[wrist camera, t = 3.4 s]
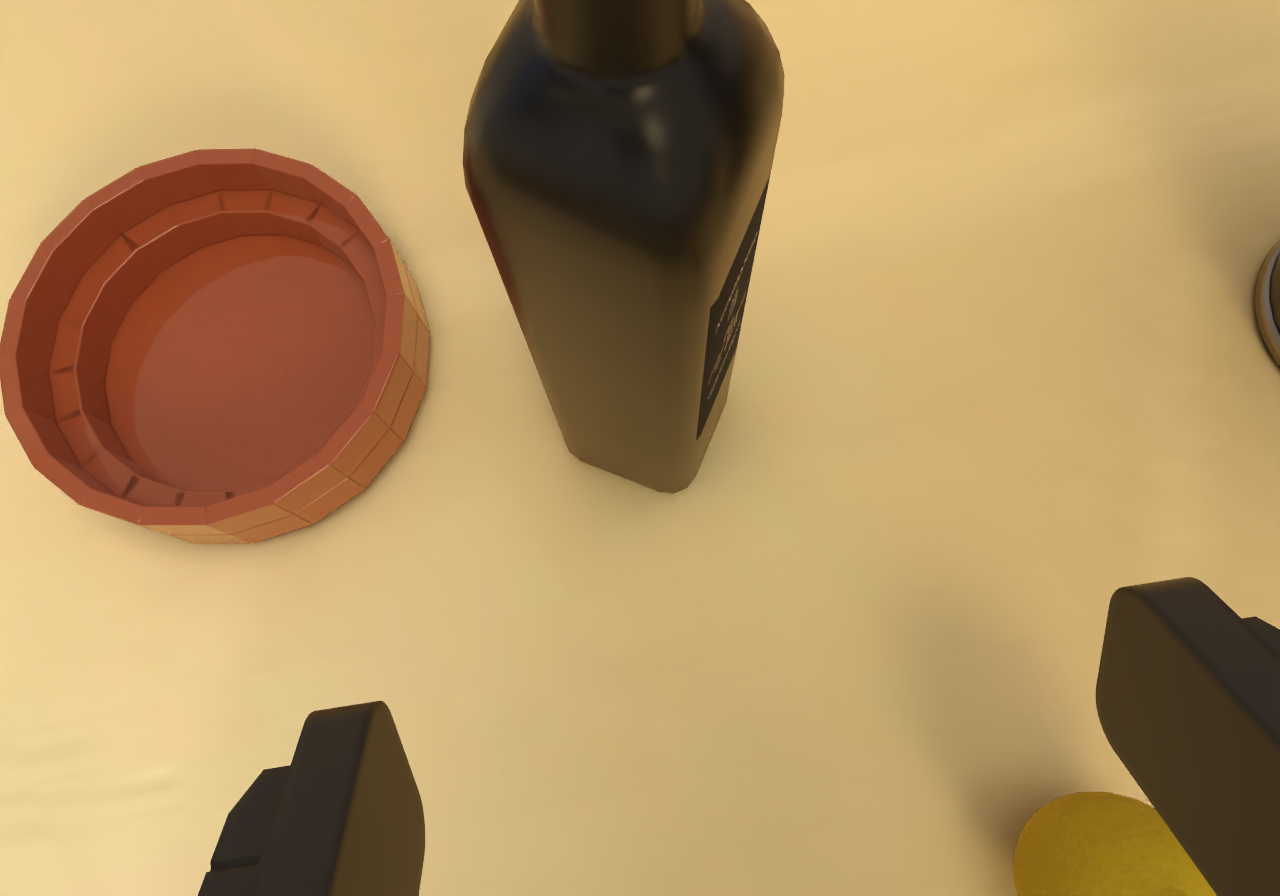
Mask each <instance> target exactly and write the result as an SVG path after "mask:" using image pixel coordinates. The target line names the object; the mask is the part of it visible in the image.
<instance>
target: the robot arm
mask: <svg viewBox="0 0 1280 896" xmlns="http://www.w3.org/2000/svg"><path fill="white" fill-rule="evenodd" d="M1255 308H1256V316H1257V320H1258V325H1259V328H1260V331H1261V334H1262V336H1263V339H1264V341H1265V343H1266V345H1267V347H1268V349H1269V351H1270V353H1271V354H1272V356H1273V357H1274V359H1275V360H1276V362H1277V363H1278V365H1279V366H1280V241H1279V242H1278V243H1277V244H1276V245H1275V247H1274V248H1273V249H1272V250H1271V251H1270V253H1269V254H1268V256H1267V257H1266V259H1265V261H1264V263H1263V265H1262V267H1261V270H1260V272H1259V275H1258V279H1257V283H1256V291H1255ZM1096 705H1097V711H1098V715H1099V719H1100V723H1101V725H1102V728H1103V731H1104V733H1105V735H1106V738H1107V739H1108V741H1109V743H1110V745H1111V747H1112V748H1113V750H1114V751H1115V753H1116V754H1117V755H1118V757H1119V758H1120V760H1121V761H1122V762H1123V764H1124V765H1125V767H1126V768H1127V770H1128V771H1129V772H1130V774H1131V775H1132V777H1133V778H1134V779H1135V781H1136V782H1137V784H1138V785H1139V786H1140V788H1141V789H1142V791H1143V792H1144V793H1145V795H1146V796H1147V798H1148V799H1149V800H1150V802H1151V803H1152V805H1153V806H1154V808H1155V809H1156V810H1157V812H1158V813H1159V815H1160V816H1161V817H1162V819H1163V820H1164V822H1165V823H1166V824H1167V826H1168V827H1169V829H1170V830H1171V831H1172V833H1173V834H1174V836H1175V837H1176V838H1177V840H1178V841H1179V843H1180V844H1181V846H1182V847H1183V848H1184V850H1185V851H1186V853H1187V854H1188V855H1189V857H1190V858H1191V860H1192V861H1193V862H1194V864H1195V865H1196V867H1197V868H1198V869H1199V871H1200V872H1201V874H1202V875H1203V876H1204V878H1205V879H1206V881H1207V882H1208V884H1209V885H1210V886H1211V888H1212V889H1213V891H1214V892H1215V893H1216V895H1217V896H1280V629H1278V628H1276V627H1274V626H1272V625H1270V624H1268V623H1267V622H1265V621H1263V620H1261V619H1259V618H1257V617H1249V618H1243V619H1241V618H1240V617H1239V616H1238V615H1237V614H1236V613H1235V612H1234V611H1233V610H1232V609H1231V608H1230V607H1229V606H1228V605H1227V604H1226V603H1225V602H1223V601H1222V600H1221V599H1220V598H1219V597H1218V596H1217V595H1216V594H1215V593H1214V592H1213V591H1212V590H1211V589H1210V588H1209V587H1208V586H1206V585H1205V584H1204V583H1203V582H1201V581H1199V580H1198V579H1195V578H1191V577H1185V578H1179V579H1172V580H1166V581H1160V582H1153V583H1147V584H1140V585H1134V586H1128V587H1122V588H1119V589H1117V590H1116V591H1115V592H1114V594H1113V595H1112V598H1111V601H1110V605H1109V611H1108V617H1107V623H1106V629H1105V636H1104V642H1103V648H1102V654H1101V660H1100V667H1099V673H1098V679H1097V685H1096ZM424 852H425V823H424V813H423V807H422V802H421V797H420V794H419V791H418V788H417V785H416V782H415V780H414V777H413V774H412V771H411V768H410V766H409V763H408V760H407V757H406V754H405V751H404V749H403V746H402V743H401V740H400V737H399V735H398V732H397V729H396V726H395V723H394V721H393V718H392V715H391V712H390V710H389V708H388V706H387V705H386V704H385V703H384V702H383V701H376V702H370V703H363V704H357V705H351V706H344V707H338V708H331V709H325V710H319V711H314V712H312V713H310V714H309V716H308V717H307V719H306V721H305V723H304V726H303V729H302V732H301V735H300V738H299V741H298V744H297V747H296V750H295V753H294V757H293V760H292V763H291V766H284V767H278V768H272V769H265V770H263V771H262V773H261V774H260V775H259V776H258V778H257V779H256V780H255V781H254V783H253V784H252V785H251V786H250V788H249V789H248V790H247V791H246V793H245V794H244V795H243V796H242V798H241V799H240V800H239V801H238V803H237V804H236V805H235V806H234V808H233V809H232V810H231V811H230V813H229V814H228V817H227V819H226V822H225V825H224V827H223V830H222V833H221V835H220V838H219V841H218V843H217V846H216V848H215V851H214V854H213V856H212V859H211V862H210V863H211V870H210V872H206V875H205V878H204V880H203V883H202V886H201V888H200V891H199V894H198V896H419V889H420V882H421V875H422V868H423V860H424Z"/></svg>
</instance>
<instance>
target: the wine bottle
mask: <svg viewBox="0 0 1280 896" xmlns="http://www.w3.org/2000/svg"><path fill="white" fill-rule="evenodd" d="M783 97H784V71H783V67H782V62H781V58H780V53H779V50H778V48H777V46H776V44H775V42H774V40H773V38H772V36H771V34H770V32H769V30H768V28H767V26H766V24H765V23H764V21H763V20H762V19H761V18H760V16H759V15H758V14H757V13H756V11H755V10H754V9H753V8H752V6H751V5H750V4H749V3H748V2H747V1H745V0H519V2H518V4H517V5H516V7H515V9H514V11H513V12H512V14H511V16H510V18H509V20H508V21H507V23H506V25H505V27H504V28H503V30H502V32H501V34H500V35H499V37H498V39H497V41H496V43H495V44H494V46H493V48H492V50H491V51H490V53H489V55H488V57H487V58H486V60H485V63H484V66H483V68H482V71H481V74H480V76H479V79H478V82H477V84H476V87H475V90H474V92H473V95H472V98H471V101H470V106H469V111H468V115H467V120H466V125H465V129H464V150H463V168H464V176H465V184H466V189H467V191H468V194H469V196H470V199H471V201H472V204H473V206H474V209H475V212H476V214H477V217H478V219H479V222H480V224H481V227H482V229H483V232H484V235H485V237H486V240H487V242H488V245H489V247H490V250H491V253H492V255H493V258H494V260H495V263H496V265H497V268H498V270H499V273H500V276H501V278H502V281H503V283H504V286H505V288H506V291H507V294H508V296H509V299H510V301H511V304H512V306H513V309H514V311H515V314H516V317H517V319H518V322H519V324H520V327H521V329H522V332H523V334H524V337H525V340H526V342H527V345H528V347H529V350H530V352H531V355H532V358H533V360H534V363H535V365H536V368H537V370H538V373H539V375H540V378H541V381H542V383H543V386H544V388H545V391H546V393H547V396H548V399H549V401H550V404H551V406H552V409H553V411H554V414H555V416H556V419H557V422H558V424H559V427H560V429H561V432H562V434H563V437H564V439H565V442H566V444H567V447H568V449H569V452H570V453H572V454H573V455H575V456H576V457H577V458H579V459H580V460H581V461H584V462H586V463H589V464H591V465H594V466H596V467H599V468H602V469H604V470H607V471H609V472H612V473H614V474H617V475H619V476H622V477H624V478H627V479H629V480H632V481H635V482H637V483H640V484H642V485H645V486H647V487H650V488H652V489H655V490H657V491H662V492H670V493H675V492H677V491H679V490H682V489H684V488H687V487H688V485H689V484H690V483H691V481H692V480H693V479H694V478H695V476H696V474H697V472H698V469H699V467H700V464H701V462H702V459H703V457H704V455H705V452H706V450H707V447H708V445H709V442H710V440H711V437H712V435H713V432H714V430H715V427H716V425H717V423H718V420H719V418H720V415H721V413H722V410H723V408H724V405H725V403H726V400H727V395H728V390H729V384H730V379H731V374H732V369H733V364H734V359H735V353H736V348H737V343H738V338H739V333H740V328H741V323H742V317H743V312H744V307H745V302H746V297H747V292H748V286H749V281H750V276H751V271H752V266H753V261H754V256H755V250H756V245H757V240H758V235H759V230H760V225H761V219H762V214H763V209H764V204H765V199H766V194H767V189H768V183H769V178H770V173H771V168H772V163H773V158H774V152H775V147H776V142H777V137H778V132H779V127H780V122H781V116H782V107H783Z"/></svg>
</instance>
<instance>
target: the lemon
mask: <svg viewBox="0 0 1280 896" xmlns="http://www.w3.org/2000/svg"><path fill="white" fill-rule="evenodd" d="M1013 865H1014V883H1015V886H1016V890H1017V893H1018V896H1217V895H1216V893H1215V892H1214V891H1213V889H1212V888H1211V886H1210V885H1209V884H1208V882H1207V881H1206V879H1205V878H1204V876H1203V875H1202V874H1201V872H1200V871H1199V869H1198V868H1197V867H1196V865H1195V864H1194V862H1193V861H1192V860H1191V858H1190V857H1189V855H1188V854H1187V853H1186V851H1185V850H1184V848H1183V847H1182V846H1181V844H1180V843H1179V841H1178V840H1177V838H1176V837H1175V836H1174V834H1173V833H1172V831H1171V830H1170V829H1169V827H1168V826H1167V824H1166V823H1165V822H1164V820H1163V819H1162V817H1161V816H1160V815H1159V813H1158V812H1157V810H1156V809H1155V808H1153V807H1151V806H1149V805H1147V804H1145V803H1143V802H1141V801H1139V800H1136V799H1133V798H1129V797H1125V796H1121V795H1117V794H1113V793H1108V792H1078V793H1074V794H1070V795H1067V796H1064V797H1060V798H1057V799H1055V800H1053V801H1051V802H1050V803H1048V804H1047V805H1045V806H1044V807H1042V808H1041V809H1039V810H1037V812H1036V813H1035V814H1034V815H1033V816H1032V817H1031V818H1030V820H1029V821H1028V822H1027V823H1026V824H1025V826H1024V828H1023V830H1022V832H1021V834H1020V836H1019V839H1018V841H1017V844H1016V850H1015V855H1014V861H1013Z"/></svg>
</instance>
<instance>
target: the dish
mask: <svg viewBox="0 0 1280 896" xmlns="http://www.w3.org/2000/svg"><path fill="white" fill-rule="evenodd" d="M429 339H430V334H429V328H428V324H427V321H426V317H425V314H424V310H423V306H422V303H421V299H420V296H419V292H418V289H417V285H416V283H415V281H414V279H413V278H412V276H411V274H410V273H409V271H408V269H407V268H406V266H405V264H404V263H403V261H402V259H401V258H400V256H399V254H398V253H397V251H396V249H395V248H394V246H393V244H392V243H391V241H390V239H389V238H388V237H387V235H386V234H385V232H384V231H383V230H382V228H381V227H380V226H379V224H378V223H377V221H376V220H375V219H374V217H373V216H372V214H371V213H370V212H369V210H368V209H367V208H366V206H365V205H364V203H363V202H362V201H361V199H360V198H359V197H358V196H357V195H356V194H355V193H353V192H352V191H350V190H349V189H347V188H346V187H344V186H343V185H341V184H340V183H338V182H337V181H335V180H334V179H333V178H331V177H330V176H328V175H327V174H325V173H324V172H322V171H321V170H319V169H318V168H316V167H315V166H313V165H311V164H308V163H305V162H301V161H298V160H294V159H290V158H287V157H283V156H280V155H276V154H273V153H269V152H266V151H262V150H259V149H206V150H195V151H191V152H188V153H184V154H181V155H177V156H174V157H171V158H167V159H164V160H160V161H157V162H153V163H150V164H147V165H143V166H140V167H139V168H135V169H134V170H132V171H130V172H129V173H127V174H125V175H124V176H122V177H120V178H119V179H117V180H115V181H114V182H112V183H110V184H109V185H107V186H105V187H104V188H102V189H100V190H98V191H97V192H95V193H93V194H92V195H90V196H88V197H87V198H85V200H82V201H81V202H80V204H79V205H78V206H77V207H76V208H75V209H74V210H73V211H72V212H71V213H70V214H69V215H68V216H67V217H66V218H65V219H64V220H63V221H62V222H61V223H60V224H59V225H58V226H57V227H56V228H55V229H54V230H53V231H52V232H51V233H50V234H49V235H48V236H47V237H46V238H45V239H44V240H43V241H42V242H41V243H40V246H39V247H38V249H37V251H36V252H35V254H34V256H33V258H32V260H31V261H30V263H29V265H28V267H27V269H26V271H25V272H24V274H23V276H22V278H21V280H20V281H19V283H18V285H17V287H16V289H15V290H14V292H13V294H12V296H11V299H9V304H8V308H7V313H6V318H5V323H4V328H3V332H2V337H1V342H0V381H1V389H2V396H3V404H4V411H5V415H6V418H7V419H8V421H9V423H10V425H11V427H12V429H13V430H14V432H15V434H16V436H17V438H18V440H19V441H20V443H21V445H22V447H23V449H24V450H25V452H26V454H27V456H28V458H29V460H30V461H31V463H32V465H33V466H34V468H35V469H36V470H38V471H39V472H40V473H41V474H42V475H44V476H45V477H46V478H47V479H49V480H50V481H51V482H52V483H53V484H55V485H56V486H57V487H58V488H59V489H61V490H62V491H63V492H64V493H65V494H67V495H68V496H69V497H70V498H72V499H73V500H74V501H75V502H76V503H78V504H79V505H82V506H84V507H86V508H89V509H92V510H95V511H98V512H101V513H104V514H107V515H110V516H113V517H116V518H119V519H122V520H125V521H128V522H131V523H134V524H137V525H140V526H143V527H146V528H149V529H152V530H155V531H158V532H161V533H164V534H167V535H170V536H173V537H176V538H179V539H182V540H185V541H187V542H190V543H253V542H254V543H256V542H259V541H262V540H265V539H268V538H272V537H275V536H278V535H281V534H284V533H287V532H290V531H294V530H297V529H300V528H303V527H306V526H309V525H312V524H314V523H316V522H317V521H319V520H320V519H322V518H323V517H325V516H326V515H328V514H329V513H330V512H332V511H333V510H335V509H336V508H338V507H339V506H341V505H342V504H344V503H345V502H347V501H348V500H350V499H351V498H353V497H354V496H356V495H357V494H358V493H360V492H361V491H363V490H364V488H366V487H367V486H368V484H369V483H370V482H371V481H372V480H373V478H374V477H375V476H376V475H377V473H378V472H379V471H380V470H381V469H382V467H383V466H384V465H385V464H386V463H387V461H388V460H389V459H390V458H391V456H392V455H393V454H394V453H395V452H396V450H397V449H398V448H399V447H400V445H401V444H402V443H403V441H404V440H405V438H406V435H407V433H408V430H409V428H410V426H411V423H412V421H413V418H414V416H415V413H416V411H417V408H418V406H419V404H420V401H421V399H422V396H423V394H424V391H425V387H426V382H427V368H428V354H429Z"/></svg>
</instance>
